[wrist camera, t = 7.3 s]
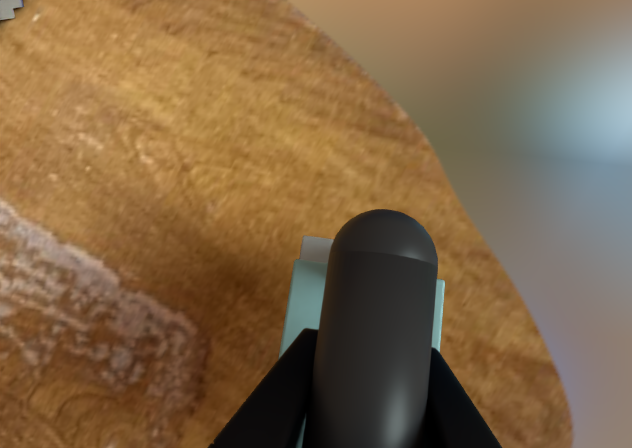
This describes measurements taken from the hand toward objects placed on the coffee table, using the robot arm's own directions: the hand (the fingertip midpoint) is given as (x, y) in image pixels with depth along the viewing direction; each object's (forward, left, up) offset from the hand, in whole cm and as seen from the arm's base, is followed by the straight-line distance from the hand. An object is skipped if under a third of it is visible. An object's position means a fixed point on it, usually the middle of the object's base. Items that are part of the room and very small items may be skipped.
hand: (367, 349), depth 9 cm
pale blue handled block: (0, +1, -7) cm, 7 cm away
